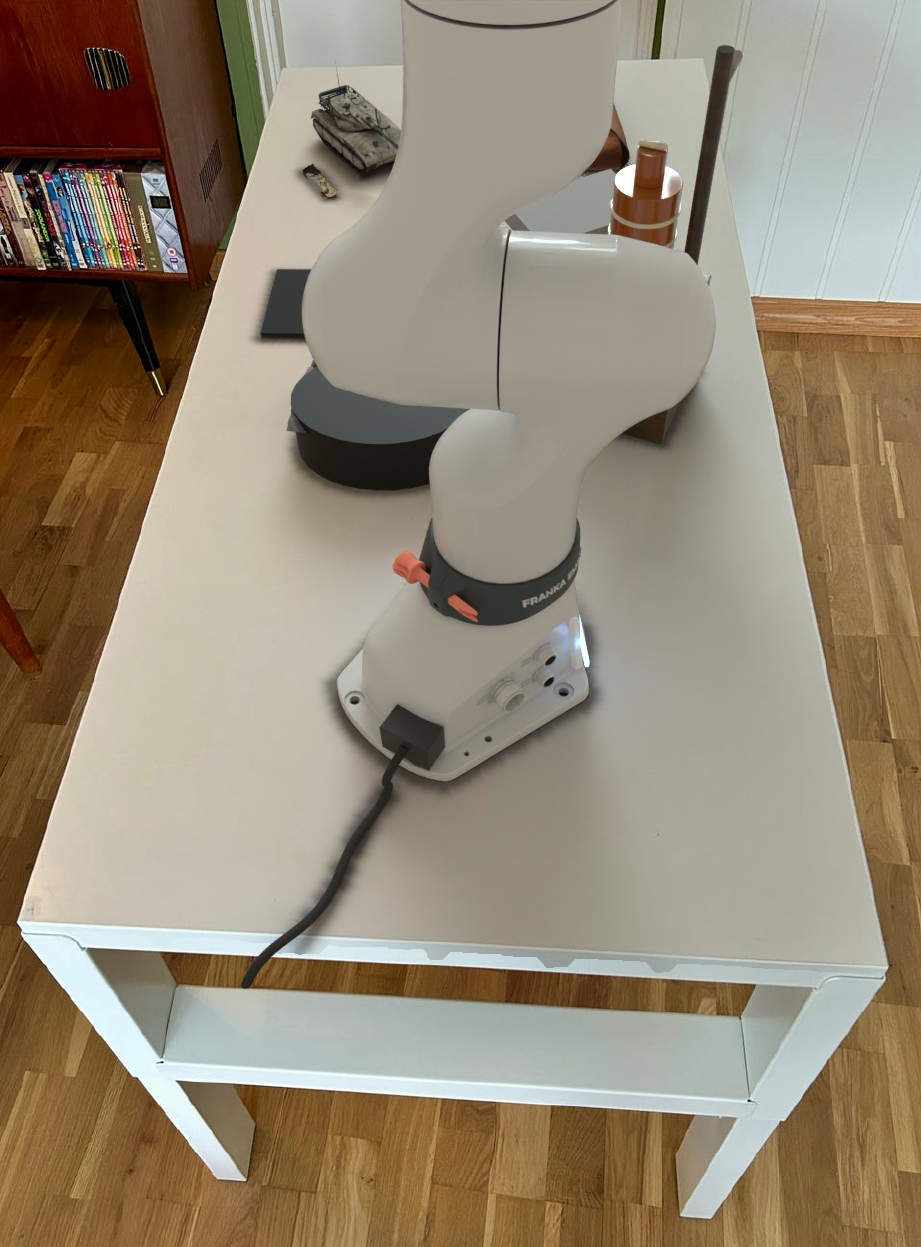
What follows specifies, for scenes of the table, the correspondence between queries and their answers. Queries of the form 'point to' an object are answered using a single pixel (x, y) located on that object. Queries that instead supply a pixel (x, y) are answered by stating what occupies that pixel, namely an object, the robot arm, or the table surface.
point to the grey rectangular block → (571, 208)
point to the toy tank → (355, 129)
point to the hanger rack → (698, 203)
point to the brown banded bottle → (647, 197)
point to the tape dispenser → (364, 435)
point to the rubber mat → (286, 304)
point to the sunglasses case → (612, 148)
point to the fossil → (328, 189)
